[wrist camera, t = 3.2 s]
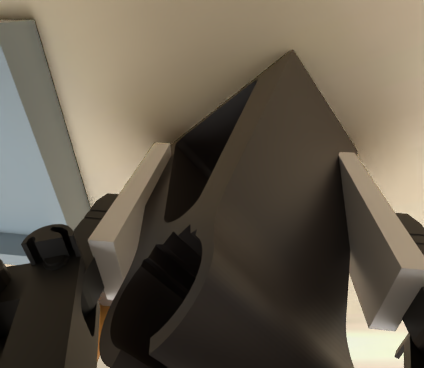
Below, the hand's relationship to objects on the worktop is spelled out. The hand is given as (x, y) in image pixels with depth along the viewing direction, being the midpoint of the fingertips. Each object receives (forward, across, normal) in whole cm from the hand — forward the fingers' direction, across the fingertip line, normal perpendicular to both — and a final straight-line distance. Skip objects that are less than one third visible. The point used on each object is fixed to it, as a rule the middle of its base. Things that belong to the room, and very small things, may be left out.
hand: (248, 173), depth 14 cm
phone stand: (+2, 0, 0) cm, 2 cm away
